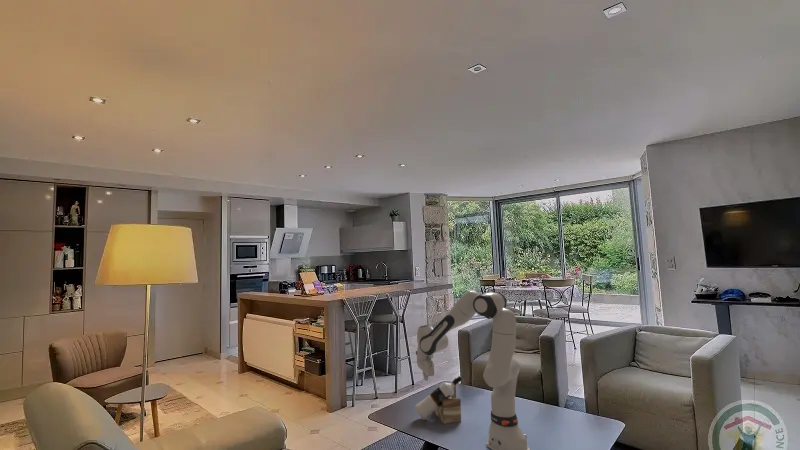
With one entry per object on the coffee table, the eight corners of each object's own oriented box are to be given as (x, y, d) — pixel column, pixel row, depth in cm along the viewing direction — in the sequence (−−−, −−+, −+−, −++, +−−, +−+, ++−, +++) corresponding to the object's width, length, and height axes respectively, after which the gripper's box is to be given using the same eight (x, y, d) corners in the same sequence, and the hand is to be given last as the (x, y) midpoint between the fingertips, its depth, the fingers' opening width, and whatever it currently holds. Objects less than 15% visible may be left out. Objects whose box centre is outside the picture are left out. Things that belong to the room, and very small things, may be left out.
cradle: (461, 421, 208) (460, 398, 209) (443, 423, 205) (443, 400, 206) (449, 409, 224) (449, 388, 225) (433, 411, 222) (432, 390, 223)
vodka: (419, 410, 216) (459, 376, 220) (426, 423, 208) (468, 387, 212) (412, 403, 211) (453, 367, 215) (419, 416, 203) (462, 379, 208)
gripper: (436, 358, 205) (437, 385, 204) (425, 349, 225) (425, 373, 224) (425, 359, 204) (426, 386, 202) (414, 350, 223) (415, 374, 222)
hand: (425, 379), depth 213 cm, fingers closed
